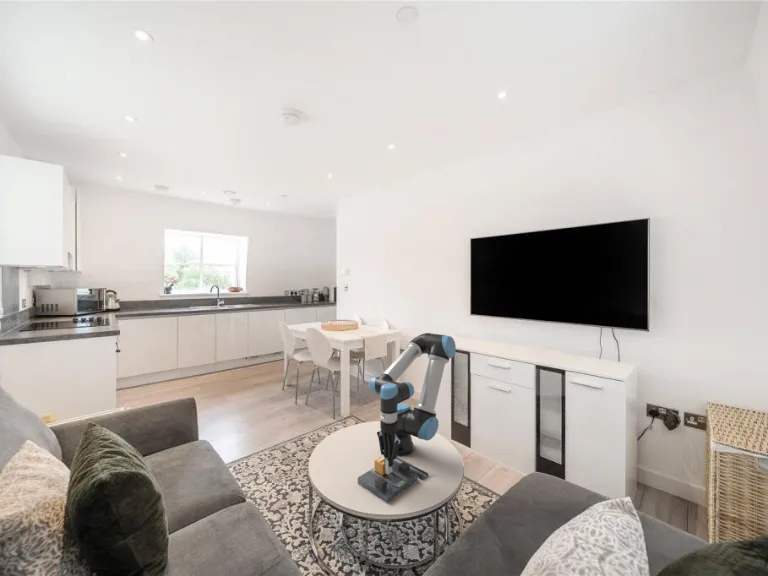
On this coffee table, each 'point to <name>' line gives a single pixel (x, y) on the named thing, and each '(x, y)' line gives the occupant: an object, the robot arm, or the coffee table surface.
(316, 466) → the coffee table surface
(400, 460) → the grey cylinders
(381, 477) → the panel
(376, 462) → the slider
